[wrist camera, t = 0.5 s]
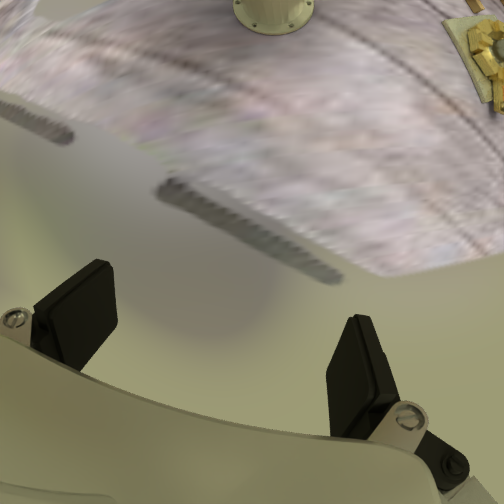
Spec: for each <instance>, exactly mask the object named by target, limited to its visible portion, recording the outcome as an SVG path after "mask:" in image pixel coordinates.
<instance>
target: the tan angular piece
mask: <svg viewBox="0 0 504 504" xmlns="http://www.w3.org/2000/svg"><path fill="white" fill-rule="evenodd" d="M489 36H490V37H489ZM491 37H492V38H494V39H495V40H497V41H498V40H501V39H504V23H503V22H501V21H499V20H497V21H492V20H490V19H488V20H487V19H484V20H482V21H480V22H478V23H477V24H475V25H474V26H472V27H471V28H470V29H469V32H468V38H469V44H470V52H472V53H475V54H474V55H473V58H474V59H475V61H476V62H477V64H478V65H479V66H480V68H481V69H482V71H483V73H484V74H485V76H489V80H492V81H493V95H494V111H496V112H498V113H500V114H502V115H504V68H502V67H500V66H499V65H498V64H497V62H496V60H495V59H494V57H493V56H492V54H491V53H490V51H489V48H488V47H489V46H492V45H493V44H492V38H491Z"/></svg>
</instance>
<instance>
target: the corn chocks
mask: <svg viewBox="0 0 504 504" xmlns="http://www.w3.org/2000/svg"><path fill="white" fill-rule="evenodd" d="M500 1H501V2H502V4H503V5H504V0H500ZM466 2H467V3H468V5H469V6H470V8H471V9H472V11H473V13H478V12H480V11H482V10H484V9H485V8H484V7H483V5H482V4H481V2H480V1H479V0H466Z"/></svg>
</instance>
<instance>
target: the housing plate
mask: <svg viewBox="0 0 504 504" xmlns="http://www.w3.org/2000/svg"><path fill="white" fill-rule="evenodd" d="M484 19H487V20H488V19H490V20H492V21H497V18H496V16H495V15H482V16H471V17H462V18H455V19H448V20H444V21H443V22H441V23H442V24H443V26H444V27H445V29H446V31H447V32H448V34H449V36H450V38H451V39H452V41H453V43H454V45H455V46H456V48H457V50H458V52H459V54H460V56H461V58H462V60H463V62H464V64H465V66H466V68H467V70H468V72H469V74H470V76H471V78H472V81H473V83H474V85H475V87H476V90H477V92H478V94H479V97H480V99H481V102H482V103H484V102H489V101H491V100H494V95H493V81H492V80H489V76H485V74H484V73H483V71H482V69H481V68H480V66H479V65H478V64H477V62H476V61H475V59H474V58H473V55H474V54H475V53H472V52H470V44H469V38H468V32H469V29H470V28H471V27H472V26H474V25H475V24H477V23H478V22H480V21H482V20H484ZM489 37H490V36H489ZM491 38H492V37H491ZM492 44H493V45H492V46H489V47H488V48H489V51H490V53H491V54H492V56H493V57H494V59H495V60H496V62H497V64H498V65H499V66H500V67H502V68H504V39H501V40H498V41H497V40H495V39H494V38H492Z"/></svg>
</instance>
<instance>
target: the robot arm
mask: <svg viewBox="0 0 504 504" xmlns="http://www.w3.org/2000/svg"><path fill="white" fill-rule="evenodd" d="M237 4H238V5H237ZM233 9H234V13H235V15H236V17H237V18H238V20H239V21H240V22H241V23H242V24H243V25H244V26H245V27H247V28H248V29H250V30H252V31H255V32H257V33H261V34H266V35H282V34H287V33H291V32H293V31H296V30H298V29H299V28H301V27H303V26H304V25H305V24H306V23H307V22H308V21H309V19H310V18H311V16H312V14H313V10H314V1H313V0H233ZM254 26H257V27H254ZM289 27H293V28H289ZM33 307H34V311H35V313H34V314H32V313H31V312H30V311H29V310H28V309H26V308H13V309H10V310H8V311H6V312H5V313H4V314H3V315H2V316H1V318H0V504H498V503H497V502H496V501H495V500H494V499H493V497H492V496H491V495H490V494H489V493H488V492H487V490H486V489H485V488H484V487H483V486H482V485H481V483H480V482H479V481H478V480H477V479H476V478H475V476H472V477H471V478H470V477H469V471H470V468H469V463H468V460H467V459H466V457H465V456H464V455H463V454H462V453H460V452H459V451H458V450H456V449H454V448H453V447H451V446H450V445H448V444H447V443H445V442H444V441H443V440H441V439H440V438H438V437H437V436H435V435H434V434H432V433H431V432H429V431H428V430H427V427H428V424H429V420H428V416H427V414H426V412H425V411H424V409H423V408H422V407H420V406H419V405H417V404H416V403H413V402H410V401H401V400H400V397H399V394H398V391H397V387H396V384H395V381H394V378H393V375H392V372H391V369H390V366H389V363H388V361H387V357H386V355H385V353H384V352H383V350H382V348H381V345H380V342H379V339H378V337H377V334H376V331H375V328H374V326H373V323H372V320H371V318H370V317H369V316H366V315H359V314H355V315H354V316H353V317H349V318H348V320H347V323H346V325H345V328H344V330H343V333H342V335H341V338H340V340H339V342H338V345H337V347H336V350H335V352H334V354H333V356H332V359H331V361H330V363H329V366H328V368H327V371H326V383H327V394H328V407H329V418H330V419H329V420H330V436H319V435H310V434H302V433H293V432H287V431H279V430H273V429H266V428H260V427H255V426H249V425H243V424H239V423H234V422H229V421H225V420H220V419H216V418H212V417H208V416H203V415H200V414H196V413H192V412H188V411H185V410H182V409H178V408H175V407H171V406H168V405H165V404H162V403H158V402H156V401H153V400H150V399H147V398H144V397H141V396H138V395H135V394H133V393H130V392H127V391H125V390H122V389H119V388H116V387H114V386H111V385H109V384H107V383H104V382H102V381H99V380H97V379H95V378H93V377H90V376H88V375H86V374H84V373H81V372H80V371H81V370H82V369H83V367H84V366H85V365H86V364H87V362H88V361H89V360H90V359H91V357H92V356H93V355H94V354H95V352H96V351H97V350H98V349H99V347H100V346H101V345H102V344H103V343H104V341H105V340H106V339H107V338H108V336H109V335H110V334H111V333H112V332H113V330H114V329H115V328H116V326H117V323H118V318H117V309H116V298H115V287H114V272H113V267H112V266H111V265H110V263H109V262H108V261H104V260H100V259H95V260H94V261H92V262H91V263H89V264H88V265H87V266H85V267H84V268H82V269H81V270H80V271H78V272H77V273H76V274H74V275H73V276H71V277H70V278H69V279H67V280H66V281H65V282H63V283H62V284H61V285H59V286H58V287H57V288H56V289H54V290H53V291H52V292H50V293H49V294H48V295H47V296H45V297H44V298H43V299H42V300H40V301H39V302H38V303H36V304H35V305H34V306H33Z"/></svg>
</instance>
